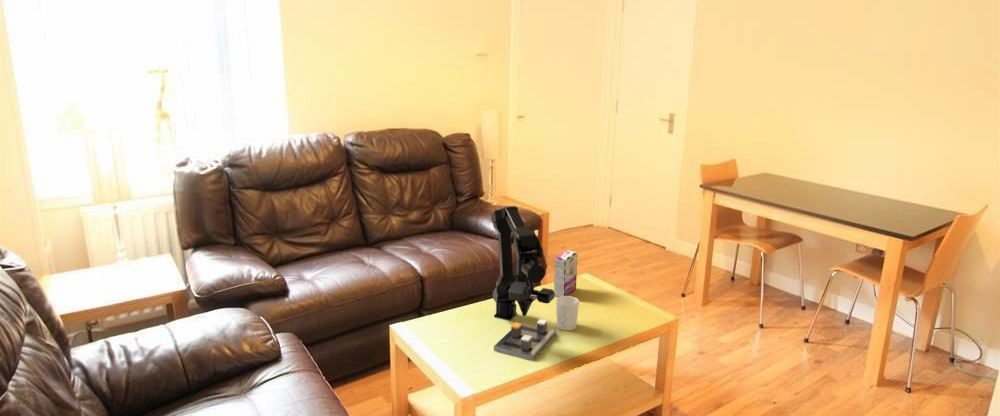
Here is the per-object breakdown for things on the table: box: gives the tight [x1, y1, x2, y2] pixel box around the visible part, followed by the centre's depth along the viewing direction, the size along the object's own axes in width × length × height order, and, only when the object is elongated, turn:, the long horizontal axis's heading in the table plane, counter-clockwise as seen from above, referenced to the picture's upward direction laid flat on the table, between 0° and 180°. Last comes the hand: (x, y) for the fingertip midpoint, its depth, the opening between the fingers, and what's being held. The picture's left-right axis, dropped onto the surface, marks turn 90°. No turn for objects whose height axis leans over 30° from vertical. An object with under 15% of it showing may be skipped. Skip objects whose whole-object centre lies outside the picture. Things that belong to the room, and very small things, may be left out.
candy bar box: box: [553, 249, 578, 298], centre depth 240 cm, size 11×5×16 cm, turn 148°
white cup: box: [555, 295, 580, 332], centre depth 212 cm, size 8×8×10 cm
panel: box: [493, 322, 557, 361], centre depth 201 cm, size 14×20×2 cm
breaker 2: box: [521, 335, 532, 350], centre depth 194 cm, size 2×3×4 cm
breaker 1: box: [510, 322, 522, 337], centre depth 202 cm, size 2×3×4 cm
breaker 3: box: [536, 318, 548, 334], centre depth 205 cm, size 2×3×4 cm
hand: (524, 315), depth 199 cm, fingers closed
